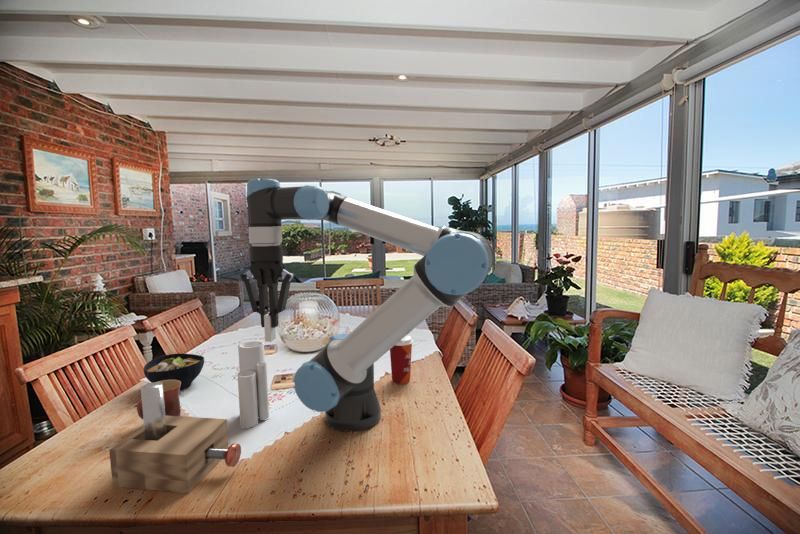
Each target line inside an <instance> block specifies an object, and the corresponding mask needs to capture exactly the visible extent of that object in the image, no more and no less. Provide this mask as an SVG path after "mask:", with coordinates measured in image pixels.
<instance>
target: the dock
mask: <svg viewBox="0 0 800 534" xmlns="http://www.w3.org/2000/svg"><path fill="white" fill-rule="evenodd" d="M165 416H166V415H165ZM228 428H229V427H228V419H227V418H213V417H198V416H197V417H196V416H181V415H180V416H166V429H167V434H166V435H165V436H163V437H162V438H161V439H159V440H158V441H154V440H145V432H144V426H142V427H141V428H139V429H138V430H136V431H135V432H134V433H132V434H130V435H129V436H128V437H126V438H125V439H123V440H121V441H120V442H119V443H117V444H115V445H113V446H112V447H111V448H109V449H108V450H109V461H110V462H109V463H110V470H111V471H110V473H111V481H112V487H114V488H115V487H116V488H124V489H125V488H127V489H138V490H147V491H148V490H150V491H158V492H160V491H161V492H171V493H184V494H190V493H191V491H193V490H194V488H196V486H198V485H199V483H200V482H201V481H202V480H203V479H204V478H205V477H206V476H207V475H208V474H209V473H210V472H212V470H213V469H214V468H215V467H216V466H217V465H218V464H219V463H220V462H221V461H223V460H222V459H209V458H205V450H206V449H207V448H216V449H228V448H229V446H230V444H229V429H228Z"/></svg>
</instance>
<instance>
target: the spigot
mask: <svg viewBox="0 0 800 534" xmlns="http://www.w3.org/2000/svg"><path fill="white" fill-rule="evenodd" d="M140 396H141V397H140V398H141V399H142V409H143V419H142V420H143V427H144V432H145V440H154V441H158V440H159V439H161V438H162V437H163V436H165V435H166V434H167V429H166V416H165V404H164V392H163V383H161V382H153V383H151V382H149V383H146V384H144V385H142V386H141V387H140Z"/></svg>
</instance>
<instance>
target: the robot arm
mask: <svg viewBox="0 0 800 534" xmlns="http://www.w3.org/2000/svg"><path fill="white" fill-rule="evenodd" d="M245 197H246V206H247V208H246V209H247V219H248V224H247V225H248V242H249V245H250V244H251V246H250V247H249V260H250V265H249V268H248V270H247V271H246V272H244V273H241V274H240V278H241V280H242V281H243V282H244V285H245V289H246V293H247V296H248V299H249V303H250V306H251V310H252V312H254V313H257V314H259V315H260V326H261V328H264V341H265V342H267V343H269V342H270V343H271V342H272V341H274V340H276V339H277V335H276V328H277V327H279V314H280V313H282V312H283V311H285V310H286V308H287V303H288V297H289V294H290V293H289V292H290V288H291V282H292V280H293V279H294V277H295V273H294V272H289V271H288V270H287V269H286V266H285V265H284V263H283V261H284V253H283V251H284V250H283V246H282V245H281V244H282V242H283V235H282V234H283V233H282V221H283V220H284V221H285V220H293V221H294V220H295V221H296V220H298V221H299V220H307V221H313V220H315V221H326V222H330V223H332V224H335V225H338V226H341V227H344V228H346V229H349V230H353V231H355V232H357V233H360V234H363V235H365V236H368V237H370V238H374V239H375V240H379V241H382V242H385V243H387V244H390V245H393V246H395V247H398V248H401V249H403V250H406V251H408V252H411V253H414V254H417V255H419V256H422V258H420V259H419V260H418V261H417V262H416V263H415V264H414V265H413V275H412V276H411V277H410V278H409V279H408V280H407V281H406V282H405V283H403V284H402V285H401V286H400V288H398V289H397V290H396V291H395V292H394V293H393V294H391V296H390V297H388V298H387V299H386V300H385V301H384V302H383V303H382V304H380V305H379V307H377V308H376V309H375V310H374V311H373V312H371V314H369V315H368V317H367V318H365V319H364V320H363V321H362V322H361V323H360V324H358V326H356V328H354V329H353V330H352V331H351V332H349V333H339V334H333V335H331V336H330V337H329V342H328V344H327V345H326V346H325V347H324V348H322V349H321V350H320V351H319V352H318V353H317V354H316V355H315V356H313V357H312V358H311V359H310V360H308V361H305V362H304V363H302V364H301V366H299V368H298V369H297V370H296V372H295V374H294V377H293V378H294V379H293V383H294V387H293V388H294V391H295V393H296V396H297V397H298V399H299V401H300V402H301V403H302V404H303V405H304V406H305V407H306V408H308V409H310V410H311V411H315V412H318V413H323V412H324V413H325V414H324V417H325V418H324V419H325V423H326V424H327V426H329V427H330V428H331V429H334V430H336V431H343V432H355V431H362V430H366V429H369V428H371V427H373V426H374V425H376V424H378V422H379V421H380V419H381V417H382V412H381V411H382V408H381V404H380V401H379V399H378V396H377V394H376V391H375V373H374V372H375V365H374V363H376V362H377V361H378V360H379V359H380V358H381V357H383V356H384V355H385V354H386V353H388V352H390V349H391V348H392V347H393V346H394V345H396V344H397V343H398V342H399V341H400V340H402V339H403V338H404V337H405V336H406V335H409V334H410V333H411V332H412V331H414V329H416V328H417V327H418V326H420V324H422V323H423V322H424V321H425V320H426V319H427V318H429V317H430V316H431V315H432V314H433V313H435V311H437V310H438V309H440V307H442V308H443V307H446V308H451V307H454V305H455V304H456V303H458V302H459V301H460V300H461V299H463V298H464V297H465V296H466V295H467V294H469V293H470V292H473V291H474V290H476V289H478V288H479V287H480V286H481V285H482V284H483V282H484V281H485V280H486V278H487V277H488V275H489V273H490V272H491V270H492V268H493V265H494V260H495V256H494V255H495V254H494V250H493V247H492V245H491V243H490V242H489V241H488V240H487V238H486V237H484V236H483V235H481V234H479V233H477V232H474V231H467V230H466V231H465V230H461V229H456V228H453V227H449V226H446V225H444V226H442V227H440V228H439V227H436V226H433V225H430V224H428V223H424V222H421V221H419V220H416V219H413V218H409V217H406V216H404V215H400V214H399V213H395V212H392V211H390V210H386V209H383V208H380V207H377V206H374V205H371V204H369V203H366V202H363V201H361V200H360V201H359V200H357V199H354V198H351V197H347V196H346V195H343V194H341V193H340V192H337V191H334V190H324V188H323V187H322V186H319V185H308V184H307V185H304V186H303V185H301V186H288V187H287V186H285V187H283V186H282V187H281V184H280V181H278V180H277V179H274V178H251V179H249V180H248V181H247V183H246V196H245ZM254 279H255V280H256V283H255V280H254ZM280 279H282V282H281V286H280V291H279V290H278V289H279V287H278V286H279V280H280ZM256 284H257V285H256ZM278 292H279V293H278Z"/></svg>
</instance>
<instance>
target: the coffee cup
mask: <svg viewBox="0 0 800 534" xmlns="http://www.w3.org/2000/svg"><path fill="white" fill-rule="evenodd" d="M413 343H414V340H413V338H412V336H410V335H409V334H407V335H406V336H405V337H404V338H403V339H402V340H400V341H399V342H398V343H397V344H396V345H394V346H393V347H392V348H391V349H390V350H389V355H390V367H391V380H392V383H394V384H395V385H406V384H409V383H410V382H411V381H410V380H411V367H412V366H411V365H412V352H413V351H412V350H413V349H412V347H413Z"/></svg>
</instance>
